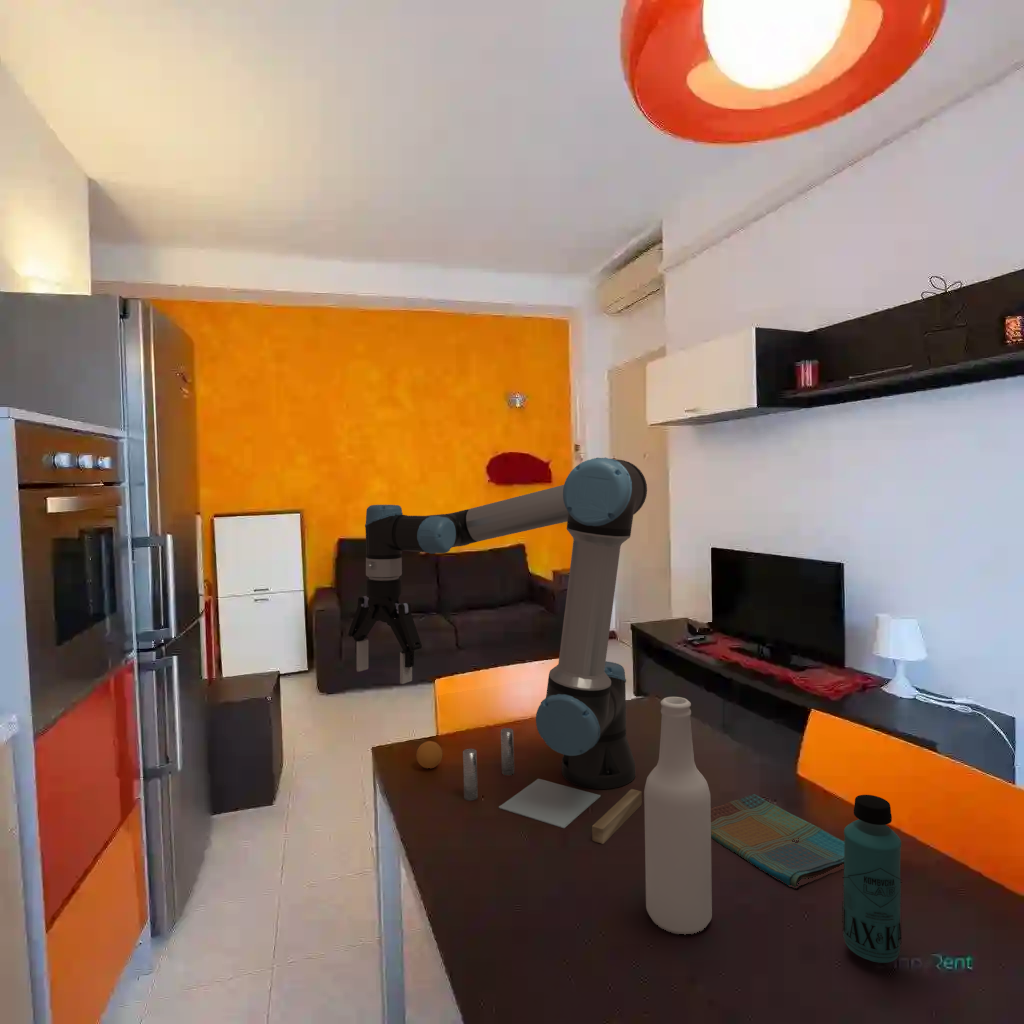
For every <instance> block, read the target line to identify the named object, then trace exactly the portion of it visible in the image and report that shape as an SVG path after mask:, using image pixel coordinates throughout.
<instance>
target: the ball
mask: <svg viewBox="0 0 1024 1024" xmlns="http://www.w3.org/2000/svg"><path fill="white" fill-rule="evenodd" d="M415 755H416V761H417V763H418V764H419V766H421V767H422V768H424V769H428V768H430V769H433V768H435V767H437V766H438V765H439V764H440V763H441V761H442V758H443V750H442V747H441V746H440V745H439V743H437V742H436V741H433V740H428V741H424V742H423V743H421V744H420V745H419V747H418V749H417V750H416V754H415Z"/></svg>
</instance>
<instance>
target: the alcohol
mask: <svg viewBox="0 0 1024 1024" xmlns="http://www.w3.org/2000/svg"><path fill="white" fill-rule="evenodd" d="M660 705H661V708H660V713H661V721H660V723H661V724H660V739H659V752H658V753H659V755H658V761H657V764H656V765H655V766H654V768H653V769H652V770H651V771H650V772H649V774H648V775H647V777H646V781H645V785H644V789H643V790H644V791H643V793H644V794H643V795H644V797H643V799H644V800H643V802H644V807H643V808H644V850H645V851H644V853H645V854H644V856H645V857H644V858H645V909H646V911H647V914H648V915H649V917H650V918H651V920H652V922H653V923H654V924H655V925H656V926H657V925H658V928H660V929H662V930H663V929H664V930H663V931H665V930H666V932H668V933H670V932H671V934H674V935H679V934H684V936H687V935H686V934H691V935H695V934H698V933H700V932H702V931H704V930H705V929H706V928H707V926H708V925H709V924H710V923H711V920H712V918H713V909H712V908H713V896H712V895H713V893H712V892H713V890H712V887H713V886H712V885H713V884H712V882H713V881H712V877H713V876H712V839H711V808H712V807H711V804H712V803H711V800H712V799H711V791H710V788H709V784H708V781H707V780H706V778H705V777H704V775H703V774H702V773H701V772H700V771H699V769H698V768H697V766H696V762H695V756H694V746H693V745H694V744H693V736H692V735H693V734H692V733H693V732H692V724H691V723H692V722H691V715H692V710H691V708H690V707H691V706H692V703H691V701H689V699H687V698H685V697H681V696H667V697H664V698H663V699H662V700H660ZM704 928H705V929H704ZM699 931H700V932H699ZM697 932H698V933H697ZM694 933H695V934H694Z"/></svg>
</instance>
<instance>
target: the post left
mask: <svg viewBox="0 0 1024 1024" xmlns="http://www.w3.org/2000/svg"><path fill="white" fill-rule="evenodd" d="M477 753H478V751H477V749H475V748H467V749H464V750H463V751H462V762H463V763H462V765H463V766H462V767H463V799H464V800H465V801H475V800H477V799H478V794H479V793H478V792H479V791H478V762H477V761H478V759H477V758H478V757H477Z"/></svg>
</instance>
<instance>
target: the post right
mask: <svg viewBox="0 0 1024 1024" xmlns="http://www.w3.org/2000/svg"><path fill="white" fill-rule="evenodd" d="M514 740H515V739H514V729H513V728H502V729H501V730H500V744H501V745H500V753H501V775H502V774H504V775H503V776H505V775H511V776H513V775H515V751H514V749H515V746H514ZM512 774H513V775H512Z"/></svg>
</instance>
